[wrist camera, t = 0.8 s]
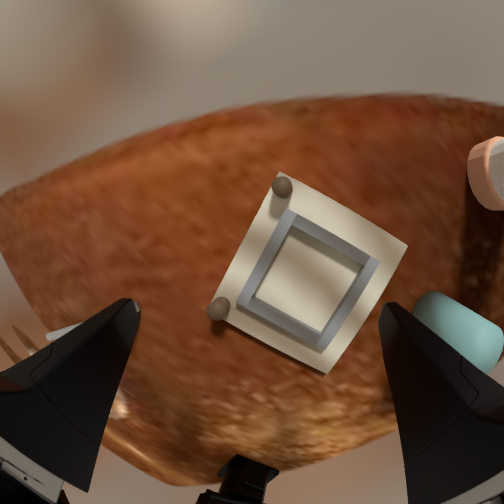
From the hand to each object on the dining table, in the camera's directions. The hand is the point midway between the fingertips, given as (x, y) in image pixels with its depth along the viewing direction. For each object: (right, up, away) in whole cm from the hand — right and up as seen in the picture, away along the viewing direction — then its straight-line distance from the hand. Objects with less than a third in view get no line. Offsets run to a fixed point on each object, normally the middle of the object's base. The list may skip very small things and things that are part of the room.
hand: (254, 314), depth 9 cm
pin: (+18, -4, +14) cm, 23 cm away
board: (+5, 0, +15) cm, 16 cm away
